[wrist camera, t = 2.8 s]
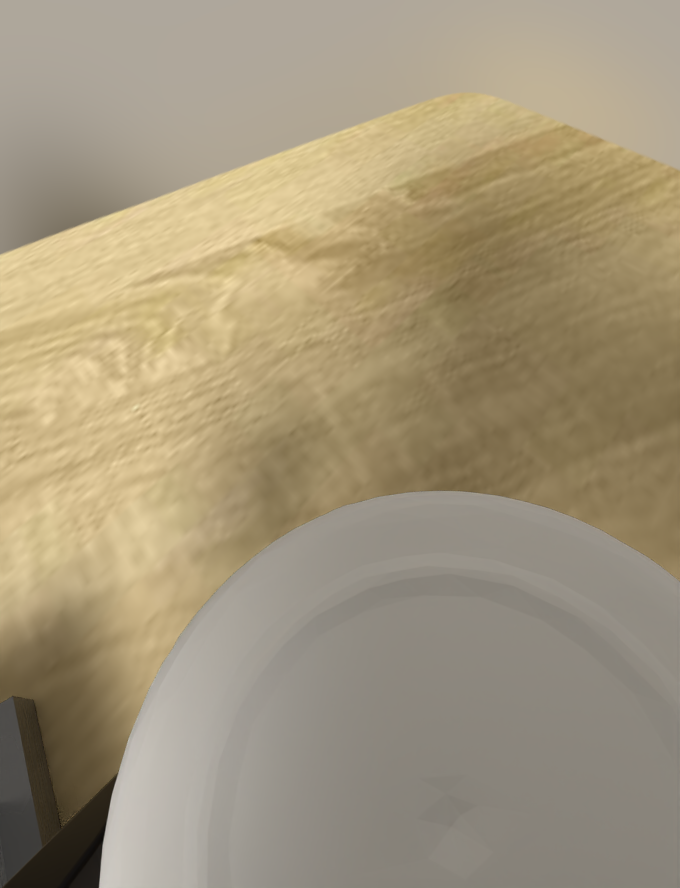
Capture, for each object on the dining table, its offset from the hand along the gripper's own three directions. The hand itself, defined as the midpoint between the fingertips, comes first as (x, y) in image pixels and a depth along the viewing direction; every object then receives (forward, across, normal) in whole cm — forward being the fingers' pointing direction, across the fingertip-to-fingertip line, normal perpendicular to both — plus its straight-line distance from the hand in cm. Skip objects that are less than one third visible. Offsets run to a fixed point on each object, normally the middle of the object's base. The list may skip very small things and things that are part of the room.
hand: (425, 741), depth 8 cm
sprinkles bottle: (+5, 0, +6) cm, 8 cm away
